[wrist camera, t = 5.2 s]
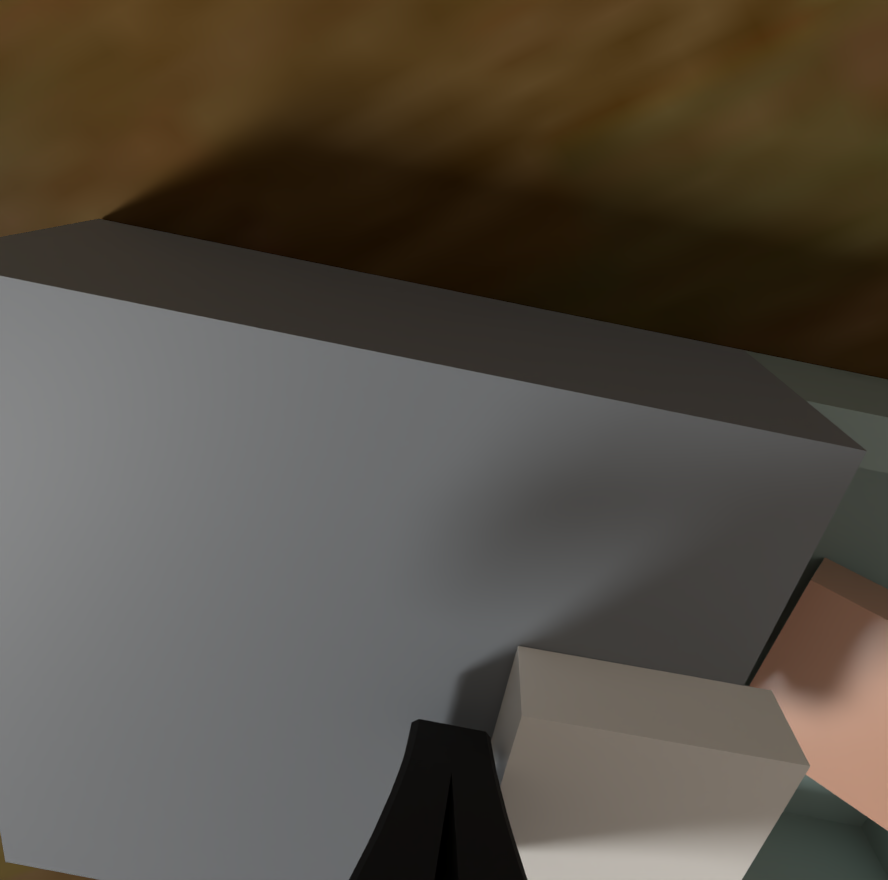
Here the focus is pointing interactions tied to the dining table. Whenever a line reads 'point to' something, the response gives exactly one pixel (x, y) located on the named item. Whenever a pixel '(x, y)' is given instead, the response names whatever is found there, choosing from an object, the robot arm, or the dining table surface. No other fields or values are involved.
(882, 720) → the terracotta tile
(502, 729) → the cream tile
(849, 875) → the grey-green drawer
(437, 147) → the dining table surface
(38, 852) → the grey drawer housing
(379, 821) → the robot arm
